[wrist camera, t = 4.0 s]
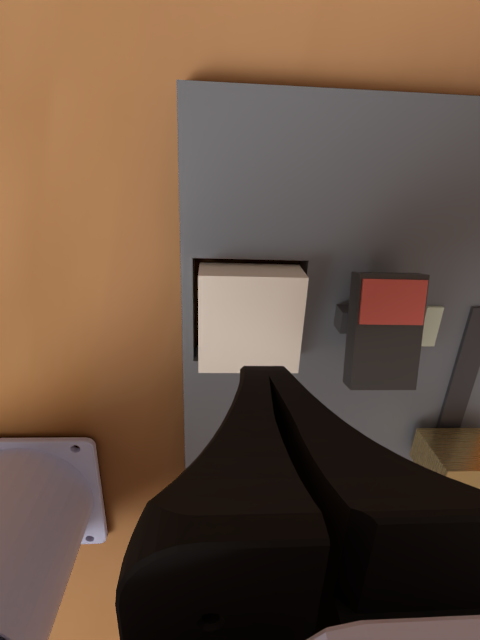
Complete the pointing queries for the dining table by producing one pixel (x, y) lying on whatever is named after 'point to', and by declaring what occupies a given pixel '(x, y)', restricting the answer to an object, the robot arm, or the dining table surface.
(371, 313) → the rocker switch
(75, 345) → the dining table surface
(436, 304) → the switch panel
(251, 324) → the push button
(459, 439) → the block
